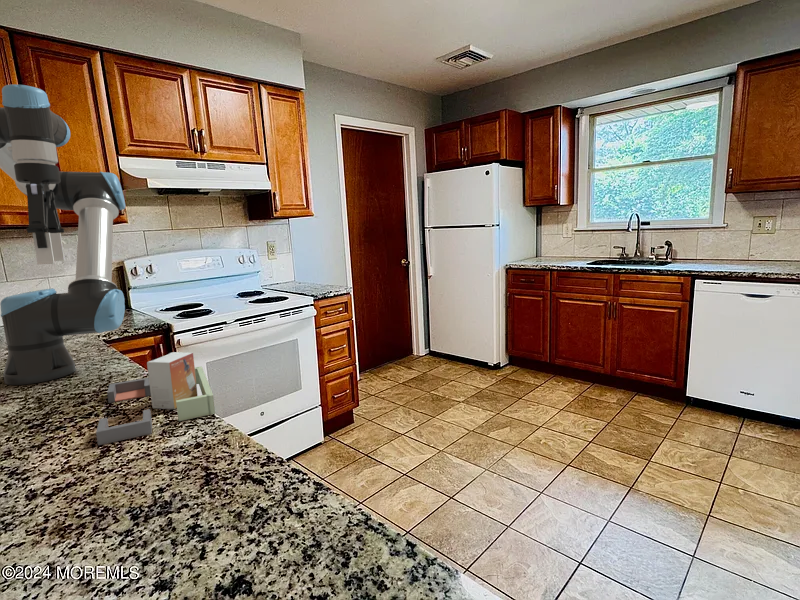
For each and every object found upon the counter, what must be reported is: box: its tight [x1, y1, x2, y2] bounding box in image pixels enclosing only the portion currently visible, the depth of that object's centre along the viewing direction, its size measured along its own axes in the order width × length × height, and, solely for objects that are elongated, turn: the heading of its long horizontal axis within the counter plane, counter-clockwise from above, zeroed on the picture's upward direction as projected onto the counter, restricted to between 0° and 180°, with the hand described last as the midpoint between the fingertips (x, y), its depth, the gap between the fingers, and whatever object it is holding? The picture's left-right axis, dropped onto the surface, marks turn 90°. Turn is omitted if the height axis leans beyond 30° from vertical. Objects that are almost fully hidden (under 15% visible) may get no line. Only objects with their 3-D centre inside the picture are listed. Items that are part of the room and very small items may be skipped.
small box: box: [146, 351, 198, 410], centre depth 96 cm, size 8×6×10 cm
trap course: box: [95, 366, 216, 446], centre depth 95 cm, size 30×20×4 cm
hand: (52, 262), depth 97 cm, fingers open, 13 cm apart
